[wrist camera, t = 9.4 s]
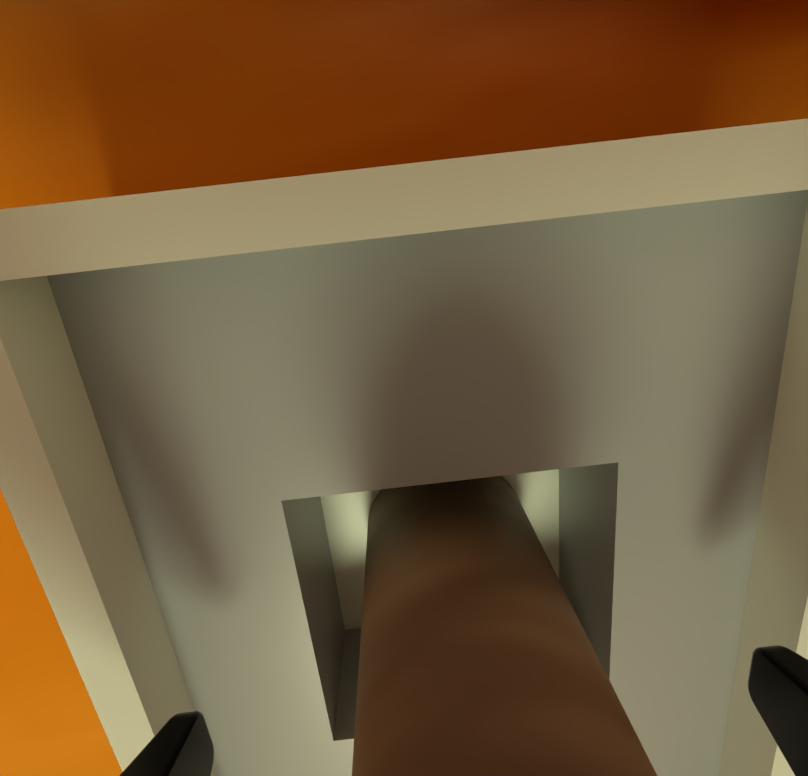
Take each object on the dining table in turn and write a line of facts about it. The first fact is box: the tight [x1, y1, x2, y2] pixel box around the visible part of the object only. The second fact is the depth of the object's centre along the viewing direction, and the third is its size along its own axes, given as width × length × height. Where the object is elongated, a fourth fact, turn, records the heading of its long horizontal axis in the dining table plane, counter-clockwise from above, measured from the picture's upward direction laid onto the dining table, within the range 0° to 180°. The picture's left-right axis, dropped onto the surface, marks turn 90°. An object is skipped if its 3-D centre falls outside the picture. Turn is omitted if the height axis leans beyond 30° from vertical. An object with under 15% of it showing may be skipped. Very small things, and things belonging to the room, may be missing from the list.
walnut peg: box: [352, 476, 657, 776], centre depth 8 cm, size 4×4×8 cm
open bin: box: [0, 118, 808, 776], centre depth 10 cm, size 13×16×5 cm
